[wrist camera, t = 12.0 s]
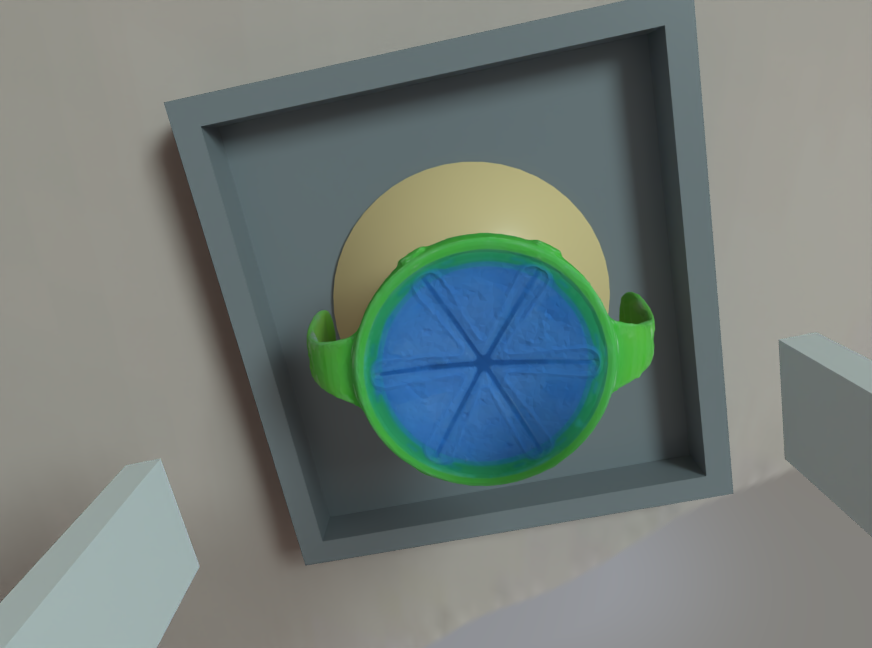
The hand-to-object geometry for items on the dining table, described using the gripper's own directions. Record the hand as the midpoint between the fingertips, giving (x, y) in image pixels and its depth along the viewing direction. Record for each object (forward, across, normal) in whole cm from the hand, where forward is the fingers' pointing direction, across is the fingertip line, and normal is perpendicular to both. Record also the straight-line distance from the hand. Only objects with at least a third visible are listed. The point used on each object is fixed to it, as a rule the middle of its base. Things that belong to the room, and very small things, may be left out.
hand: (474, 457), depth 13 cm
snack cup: (+13, +1, 0) cm, 13 cm away
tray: (+14, +1, 0) cm, 14 cm away
